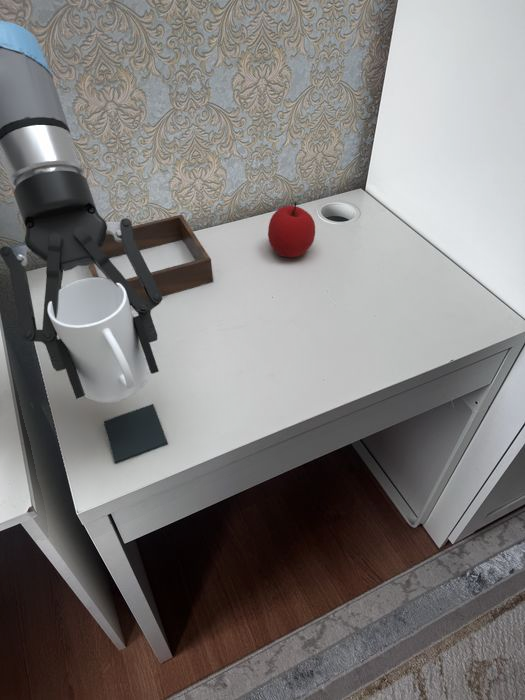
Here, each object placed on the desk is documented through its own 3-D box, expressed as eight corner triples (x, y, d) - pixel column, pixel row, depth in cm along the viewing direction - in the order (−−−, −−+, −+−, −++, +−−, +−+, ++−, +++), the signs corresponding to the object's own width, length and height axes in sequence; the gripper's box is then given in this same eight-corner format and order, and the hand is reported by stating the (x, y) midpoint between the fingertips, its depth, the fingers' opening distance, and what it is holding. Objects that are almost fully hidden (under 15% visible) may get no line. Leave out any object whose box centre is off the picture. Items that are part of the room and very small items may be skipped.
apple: (260, 242, 96) (260, 196, 88) (302, 233, 98) (305, 187, 90) (277, 268, 90) (278, 221, 82) (321, 258, 92) (326, 211, 84)
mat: (115, 464, 61) (114, 462, 61) (104, 423, 66) (103, 421, 65) (168, 444, 63) (167, 442, 63) (153, 405, 68) (153, 403, 67)
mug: (171, 403, 56) (152, 328, 47) (98, 435, 53) (64, 362, 44) (135, 341, 63) (113, 266, 54) (70, 366, 60) (36, 291, 51)
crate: (87, 261, 92) (80, 238, 88) (185, 236, 97) (181, 214, 94) (105, 312, 82) (97, 289, 78) (213, 281, 87) (211, 259, 83)
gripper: (141, 175, 58) (200, 355, 59) (-43, 214, 52) (27, 413, 53) (144, 149, 51) (211, 354, 52) (-69, 190, 45) (13, 420, 46)
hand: (118, 384), depth 53 cm, fingers closed on mug, 7 cm apart
